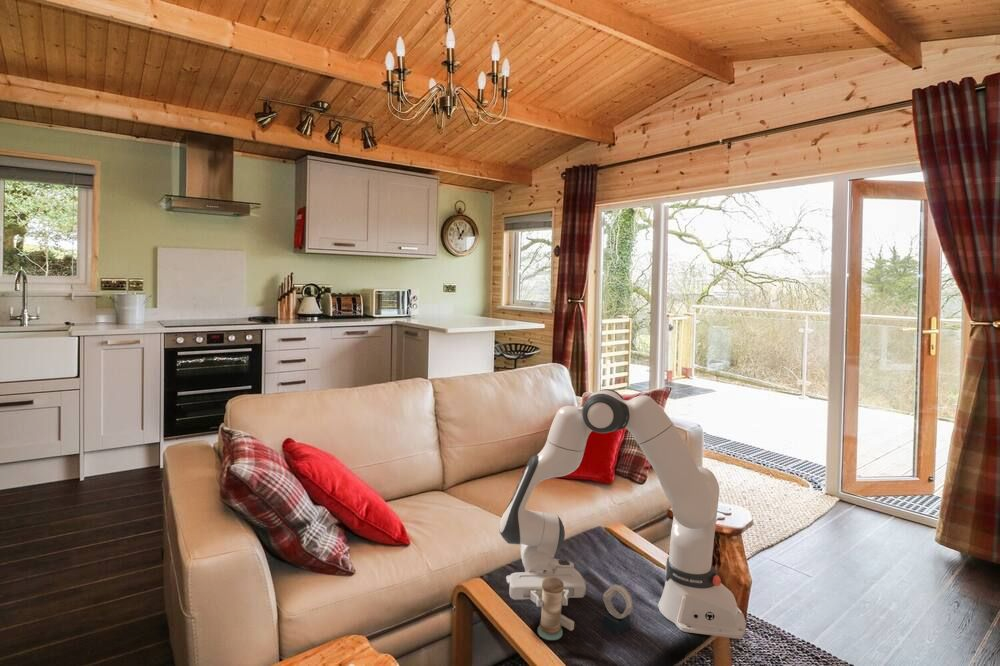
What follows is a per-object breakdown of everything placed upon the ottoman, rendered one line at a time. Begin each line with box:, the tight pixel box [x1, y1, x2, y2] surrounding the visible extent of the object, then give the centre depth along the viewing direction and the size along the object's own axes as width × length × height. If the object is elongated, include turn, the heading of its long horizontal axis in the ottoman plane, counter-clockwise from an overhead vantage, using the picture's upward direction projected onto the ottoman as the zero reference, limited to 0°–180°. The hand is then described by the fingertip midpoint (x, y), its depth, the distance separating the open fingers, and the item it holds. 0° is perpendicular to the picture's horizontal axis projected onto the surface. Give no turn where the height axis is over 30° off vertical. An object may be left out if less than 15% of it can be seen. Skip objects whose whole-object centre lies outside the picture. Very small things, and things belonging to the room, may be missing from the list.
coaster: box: [537, 625, 564, 641], centre depth 145 cm, size 6×6×1 cm
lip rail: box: [561, 613, 575, 632], centre depth 149 cm, size 7×1×2 cm, turn 47°
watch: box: [602, 583, 634, 636], centre depth 148 cm, size 6×8×11 cm
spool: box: [539, 577, 564, 634], centre depth 145 cm, size 5×5×12 cm
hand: (552, 603), depth 143 cm, fingers closed on spool, 5 cm apart
